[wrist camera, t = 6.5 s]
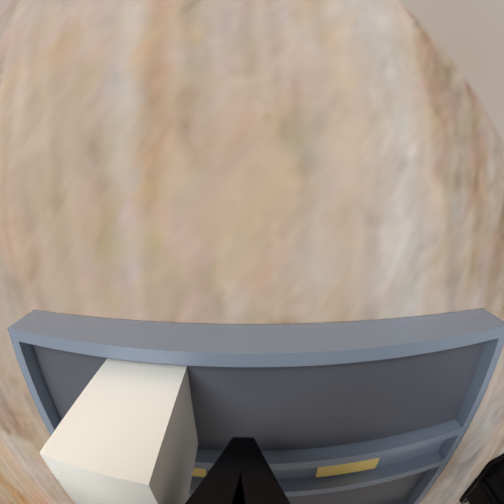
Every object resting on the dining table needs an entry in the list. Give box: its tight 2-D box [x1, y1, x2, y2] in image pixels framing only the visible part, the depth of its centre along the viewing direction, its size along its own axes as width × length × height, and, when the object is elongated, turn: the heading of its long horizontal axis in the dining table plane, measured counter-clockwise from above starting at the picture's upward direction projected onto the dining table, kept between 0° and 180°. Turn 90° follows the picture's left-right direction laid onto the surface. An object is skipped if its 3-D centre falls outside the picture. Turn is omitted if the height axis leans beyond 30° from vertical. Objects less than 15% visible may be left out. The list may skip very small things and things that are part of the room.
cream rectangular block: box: [40, 358, 198, 504], centre depth 8 cm, size 3×4×5 cm
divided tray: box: [8, 308, 504, 504], centre depth 11 cm, size 20×14×2 cm
